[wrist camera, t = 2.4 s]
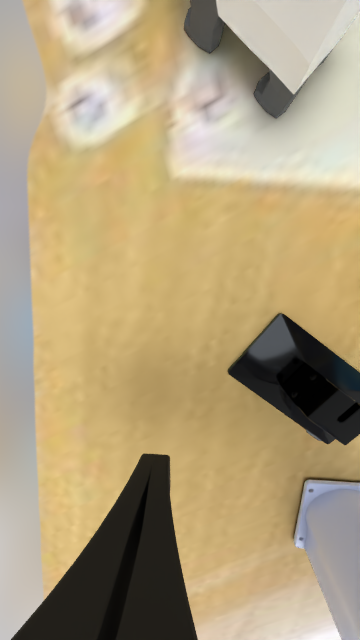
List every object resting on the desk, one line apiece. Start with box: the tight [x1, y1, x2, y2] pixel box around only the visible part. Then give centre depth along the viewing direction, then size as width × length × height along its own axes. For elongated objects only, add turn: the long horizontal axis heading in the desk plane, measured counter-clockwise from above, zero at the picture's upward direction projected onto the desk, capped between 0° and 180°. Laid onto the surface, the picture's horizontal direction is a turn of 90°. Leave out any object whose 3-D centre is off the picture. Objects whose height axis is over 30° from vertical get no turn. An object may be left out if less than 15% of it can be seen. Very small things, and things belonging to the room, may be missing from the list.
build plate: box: [228, 313, 360, 445], centre depth 15 cm, size 12×7×5 cm, turn 54°
